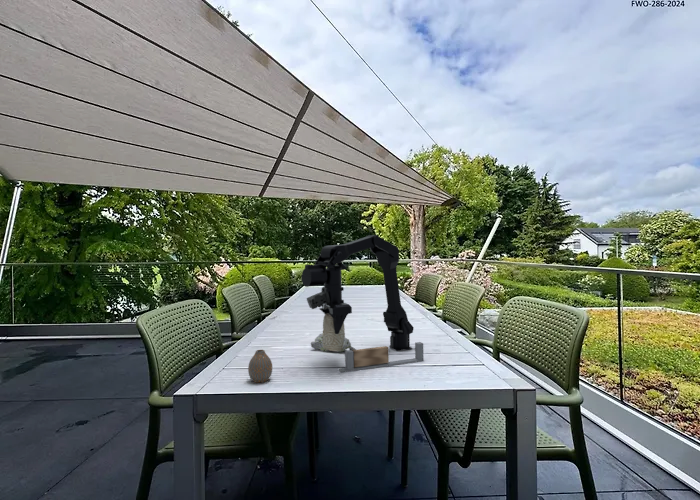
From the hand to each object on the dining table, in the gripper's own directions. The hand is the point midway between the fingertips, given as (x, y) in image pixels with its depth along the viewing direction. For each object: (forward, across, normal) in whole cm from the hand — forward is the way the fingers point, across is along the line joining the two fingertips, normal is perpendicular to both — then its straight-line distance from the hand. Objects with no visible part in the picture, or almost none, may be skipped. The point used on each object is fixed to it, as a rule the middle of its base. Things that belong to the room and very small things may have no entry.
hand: (333, 331), depth 122 cm
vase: (+11, +4, -24) cm, 27 cm away
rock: (+12, -18, +5) cm, 22 cm away
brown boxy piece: (+10, +4, +10) cm, 15 cm away
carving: (+6, 0, 0) cm, 6 cm away
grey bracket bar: (+11, +6, +14) cm, 19 cm away
